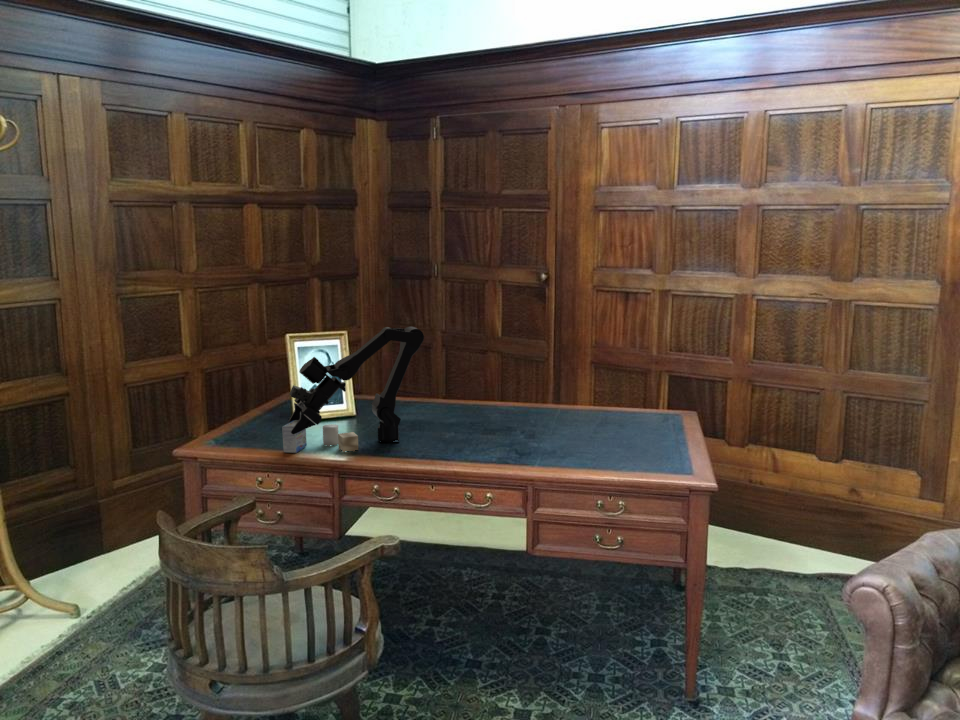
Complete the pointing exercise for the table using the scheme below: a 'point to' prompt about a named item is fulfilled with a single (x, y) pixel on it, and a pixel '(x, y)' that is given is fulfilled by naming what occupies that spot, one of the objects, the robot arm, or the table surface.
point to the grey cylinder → (330, 434)
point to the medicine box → (293, 438)
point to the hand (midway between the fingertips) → (289, 429)
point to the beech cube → (348, 441)
